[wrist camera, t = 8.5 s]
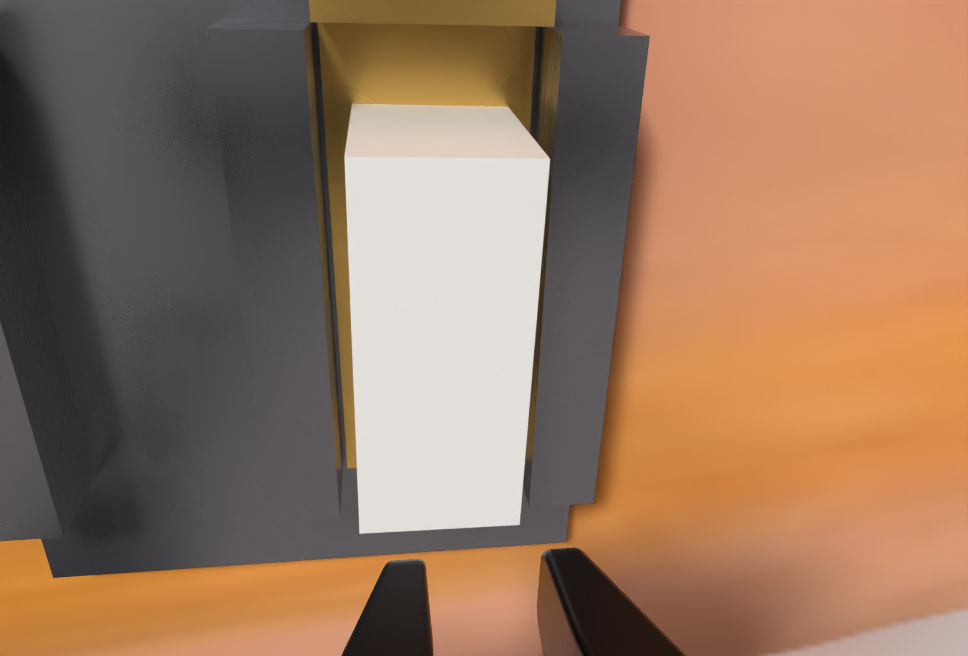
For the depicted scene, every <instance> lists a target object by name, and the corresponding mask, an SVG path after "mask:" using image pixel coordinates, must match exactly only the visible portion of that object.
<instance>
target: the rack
mask: <svg viewBox="0 0 968 656" xmlns="http://www.w3.org/2000/svg"><path fill="white" fill-rule="evenodd" d="M620 7H621V0H0V541H9V540H25V539H42V543H43V546H44V549H45V552H46V556H47V559H48V562H49V565H50V569H51V572H52V575H53V578H58V577H72V576H86V575H101V574H115V573H129V572H144V571H158V570H172V569H187V568H201V567H215V566H230V565H244V564H258V563H273V562H287V561H301V560H316V559H330V558H344V557H359V556H373V555H387V554H402V553H416V552H430V551H445V550H459V549H473V548H488V547H502V546H516V545H531V544H545V543H559V542H566V538H567V528H568V518H569V508H570V505H576V504H592V503H594V497H595V488H596V480H597V472H598V463H599V455H600V447H601V438H602V430H603V421H604V413H605V405H606V396H607V388H608V380H609V371H610V363H611V355H612V346H613V338H614V330H615V321H616V313H617V305H618V296H619V288H620V280H621V271H622V263H623V254H624V246H625V238H626V229H627V221H628V213H629V204H630V196H631V188H632V179H633V171H634V163H635V154H636V146H637V138H638V129H639V121H640V113H641V104H642V96H643V87H644V79H645V71H646V62H647V54H648V46H649V37H650V36H648V35H645V34H642V33H639V32H637V31H634V30H631V29H628V28H625V27H622V26H619V16H620ZM352 104H393V105H442V106H491V107H509V109H510V110H511V111H512V112H513V114H514V115H515V116H516V117H517V118H518V120H519V121H520V122H521V123H522V125H523V126H524V127H525V128H526V130H527V131H528V132H529V133H530V135H531V136H532V137H533V138H534V140H535V141H536V142H537V143H538V145H539V146H540V147H541V148H542V150H543V151H544V152H545V153H546V154H547V156H548V157H549V158H550V166H549V178H548V190H547V202H546V214H545V226H544V238H543V250H542V262H541V274H540V286H539V298H538V310H537V322H536V334H535V346H534V358H533V370H532V382H531V394H530V406H529V418H528V430H527V442H526V454H525V466H524V478H523V490H522V502H521V514H520V525H510V526H491V527H473V528H455V529H436V530H418V531H400V532H381V533H363V534H360V533H359V508H358V483H357V459H356V434H355V409H354V384H353V359H352V334H351V309H350V284H349V260H348V235H347V210H346V185H345V160H344V156H345V149H346V142H347V135H348V128H349V121H350V114H351V107H352Z"/></svg>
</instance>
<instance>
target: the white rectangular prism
mask: <svg viewBox="0 0 968 656" xmlns="http://www.w3.org/2000/svg"><path fill="white" fill-rule="evenodd" d="M344 160H345V185H346V210H347V235H348V260H349V284H350V309H351V334H352V359H353V384H354V409H355V434H356V459H357V483H358V508H359V533H360V534H363V533H381V532H400V531H418V530H436V529H455V528H473V527H491V526H510V525H520V514H521V502H522V490H523V478H524V466H525V454H526V442H527V430H528V418H529V406H530V394H531V382H532V370H533V358H534V346H535V334H536V322H537V310H538V298H539V286H540V274H541V262H542V250H543V238H544V226H545V214H546V202H547V190H548V178H549V166H550V158H549V157H548V156H547V154H546V153H545V152H544V151H543V150H542V148H541V147H540V146H539V145H538V143H537V142H536V141H535V140H534V138H533V137H532V136H531V135H530V133H529V132H528V131H527V130H526V128H525V127H524V126H523V125H522V123H521V122H520V121H519V120H518V118H517V117H516V116H515V115H514V114H513V112H512V111H511V110H510V109H509V107H491V106H442V105H393V104H352V107H351V114H350V121H349V128H348V135H347V142H346V149H345V156H344Z"/></svg>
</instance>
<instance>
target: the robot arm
mask: <svg viewBox="0 0 968 656" xmlns="http://www.w3.org/2000/svg"><path fill="white" fill-rule="evenodd" d="M537 615H538V625H539V632H540V638H541V644H542V651H543V656H686V655H685V654H684V653H683V652H682V651H681V650H680V649H679V648H678V647H677V646H676V645H675V644H674V643H673V642H672V641H671V640H670V639H669V638H668V637H667V636H666V635H665V634H664V633H663V632H662V631H661V630H660V629H659V628H658V627H657V626H656V625H655V624H654V623H653V622H652V621H651V620H650V619H649V618H648V617H647V616H646V615H645V614H644V613H643V612H642V611H641V609H640V608H639V607H638V606H637V605H636V604H635V603H634V602H633V601H632V600H631V599H630V598H629V597H628V596H627V595H626V594H625V593H624V592H623V591H622V590H621V589H620V588H619V587H618V586H617V585H616V584H615V583H614V582H613V581H612V580H611V579H610V578H609V577H608V576H607V575H606V574H605V573H604V572H603V571H602V570H601V569H600V568H599V567H598V566H597V565H596V564H595V563H594V562H593V561H592V560H591V559H590V558H589V557H588V556H587V555H586V554H585V553H584V552H583V551H582V550H580V549H578V548H563V549H549V550H546V551H545V552H544V553H543V554H542V557H541V564H540V576H539V588H538V600H537ZM342 656H433V637H432V627H431V617H430V606H429V596H428V586H427V575H426V566H425V563H424V561H423V560H421V559H409V560H395V561H390V562H388V563H387V564H386V565H385V566H384V568H383V570H382V572H381V574H380V576H379V578H378V581H377V583H376V585H375V587H374V589H373V591H372V593H371V595H370V597H369V599H368V601H367V603H366V606H365V608H364V610H363V612H362V614H361V616H360V618H359V620H358V622H357V624H356V626H355V629H354V631H353V633H352V635H351V637H350V639H349V641H348V643H347V645H346V647H345V649H344V651H343V654H342Z"/></svg>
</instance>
